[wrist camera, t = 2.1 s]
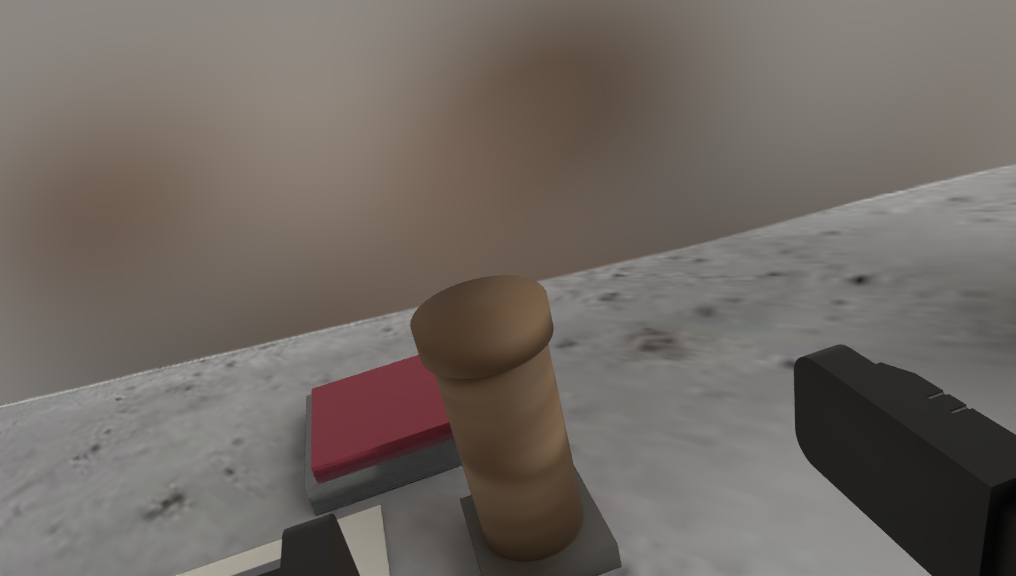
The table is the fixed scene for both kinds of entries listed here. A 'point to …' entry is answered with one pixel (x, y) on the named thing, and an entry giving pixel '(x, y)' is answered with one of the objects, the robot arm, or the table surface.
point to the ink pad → (375, 434)
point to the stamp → (511, 430)
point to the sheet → (358, 532)
